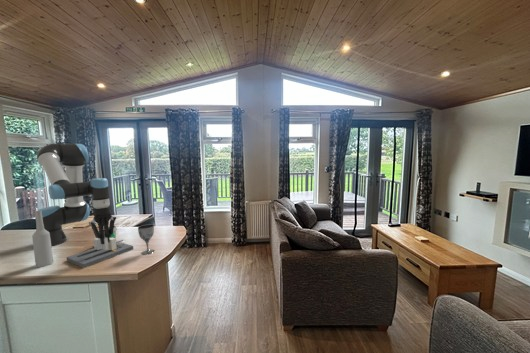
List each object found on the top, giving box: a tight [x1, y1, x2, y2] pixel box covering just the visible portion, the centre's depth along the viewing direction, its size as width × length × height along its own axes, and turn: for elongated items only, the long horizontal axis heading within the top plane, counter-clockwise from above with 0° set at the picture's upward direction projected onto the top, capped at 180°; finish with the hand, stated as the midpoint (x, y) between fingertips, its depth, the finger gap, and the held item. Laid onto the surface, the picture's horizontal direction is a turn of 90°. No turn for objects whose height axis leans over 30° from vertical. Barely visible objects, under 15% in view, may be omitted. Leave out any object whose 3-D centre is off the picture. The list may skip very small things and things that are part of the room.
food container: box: [98, 225, 118, 246], centre depth 145 cm, size 12×6×10 cm, turn 168°
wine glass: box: [137, 223, 156, 256], centre depth 130 cm, size 8×8×15 cm
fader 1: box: [93, 237, 103, 250], centre depth 131 cm, size 4×2×6 cm, turn 61°
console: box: [66, 239, 134, 269], centre depth 129 cm, size 18×25×4 cm
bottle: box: [31, 210, 54, 268], centre depth 118 cm, size 7×7×28 cm
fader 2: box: [108, 237, 117, 250], centre depth 130 cm, size 4×2×6 cm, turn 61°
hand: (105, 249), depth 127 cm, fingers closed
